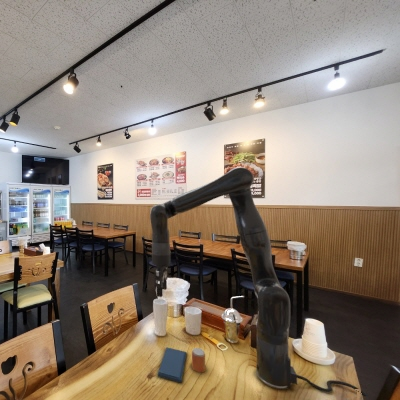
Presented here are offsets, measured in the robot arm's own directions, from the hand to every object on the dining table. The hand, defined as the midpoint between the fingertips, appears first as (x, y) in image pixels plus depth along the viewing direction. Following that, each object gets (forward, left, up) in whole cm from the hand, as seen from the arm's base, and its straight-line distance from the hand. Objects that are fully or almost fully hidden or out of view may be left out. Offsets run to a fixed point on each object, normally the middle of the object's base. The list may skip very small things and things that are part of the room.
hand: (161, 292), depth 93 cm
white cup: (-10, -22, -25) cm, 35 cm away
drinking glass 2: (+4, -14, -25) cm, 29 cm away
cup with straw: (-27, -21, -25) cm, 42 cm away
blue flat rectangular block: (-5, +5, -25) cm, 26 cm away
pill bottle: (-14, +3, -25) cm, 29 cm away
